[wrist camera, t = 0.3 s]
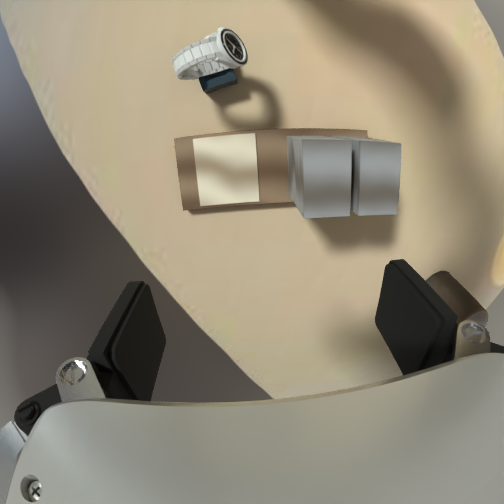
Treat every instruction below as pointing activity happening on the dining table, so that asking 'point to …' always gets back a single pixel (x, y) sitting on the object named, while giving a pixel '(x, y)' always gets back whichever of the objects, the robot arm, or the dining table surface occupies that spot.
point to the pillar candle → (458, 298)
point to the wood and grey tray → (291, 171)
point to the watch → (212, 60)
